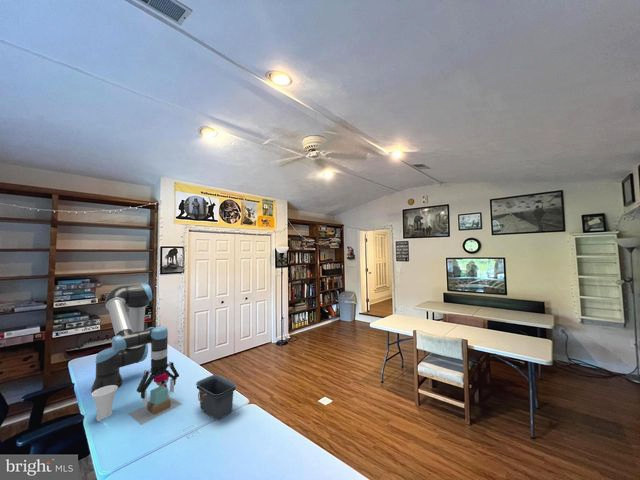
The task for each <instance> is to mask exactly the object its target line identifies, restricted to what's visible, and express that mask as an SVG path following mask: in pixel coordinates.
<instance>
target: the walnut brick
mask: <svg viewBox="0 0 640 480" xmlns="http://www.w3.org/2000/svg"><path fill="white" fill-rule="evenodd" d="M169 407H171V399H169V398H168V400H166V401H164V402H162V403H160V404H158V405H154V404H153V403H151V402H150V400H149V401H147V410H148V411H150V412H151V413H152V414H154V415H155V414H157V413H159V412H161V411H163V410H165V409H167V408H169Z"/></svg>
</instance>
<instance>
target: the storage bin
mask: <svg viewBox="0 0 640 480" xmlns="http://www.w3.org/2000/svg"><path fill="white" fill-rule="evenodd" d="M195 385H196V389H197V390H198V394H197V397H198V401H199V406H200V410H202V411H203V412H204V413H206V414H208V415H209V416H210V417H212V418H213V419H214V420H217V421H218V420H221V419H223V418H224V417H226V416H228V415H230V414H231V413H232V411H233V402H234V392H235V391H236V389H237V388H236V387H237V383H236V382H234V381H233V380H230V379H228V378H226V377H225V376H222V375H220V374H211V375H209V376H207V377H205V378H202V379H200V380H198V381H196V383H195Z"/></svg>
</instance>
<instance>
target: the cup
mask: <svg viewBox="0 0 640 480" xmlns="http://www.w3.org/2000/svg"><path fill="white" fill-rule="evenodd" d="M117 391H118V386H116V385H110V386H105V387H102V388H99V389H97V390H95V391H94V392H93V393H92V392H91V396H92V397H91V398H92V399H93V401H94V404H95V408H96V419H95V420H96V421H97V422H103V421H104V420H103V419H106V418H108V417H110V416H112V414H113V406H114V405H113V404H114V399H115V397H116V395H117Z"/></svg>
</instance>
